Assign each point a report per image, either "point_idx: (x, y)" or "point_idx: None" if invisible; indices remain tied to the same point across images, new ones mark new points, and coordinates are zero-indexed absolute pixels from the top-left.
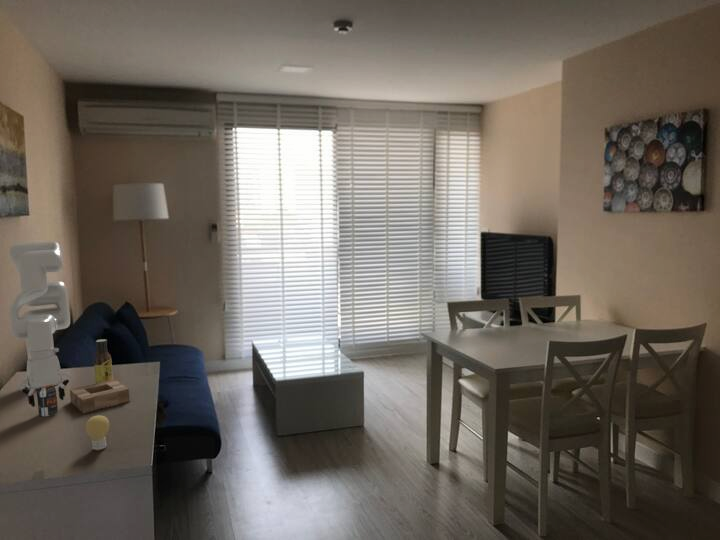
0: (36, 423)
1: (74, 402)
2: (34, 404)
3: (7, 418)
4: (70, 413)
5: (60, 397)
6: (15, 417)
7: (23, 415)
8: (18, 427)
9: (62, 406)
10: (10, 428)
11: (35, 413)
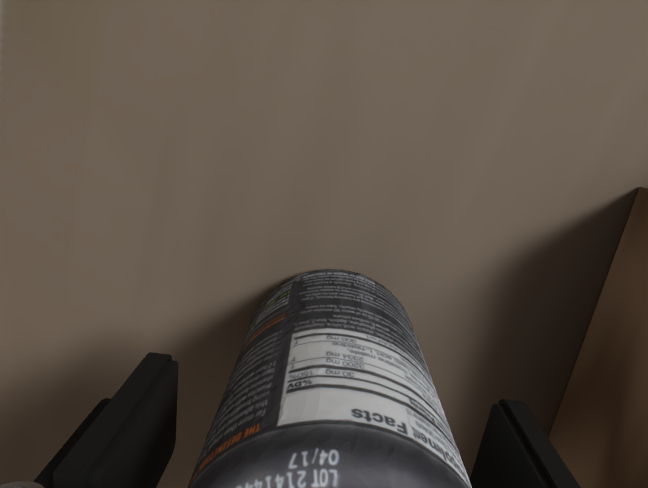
0: (184, 472)
1: (609, 346)
2: (162, 463)
3: (3, 129)
4: None
5: (484, 480)
6: (73, 171)
7: (147, 178)
8: (60, 447)
9: (513, 239)
10: (6, 420)
11: (251, 221)
